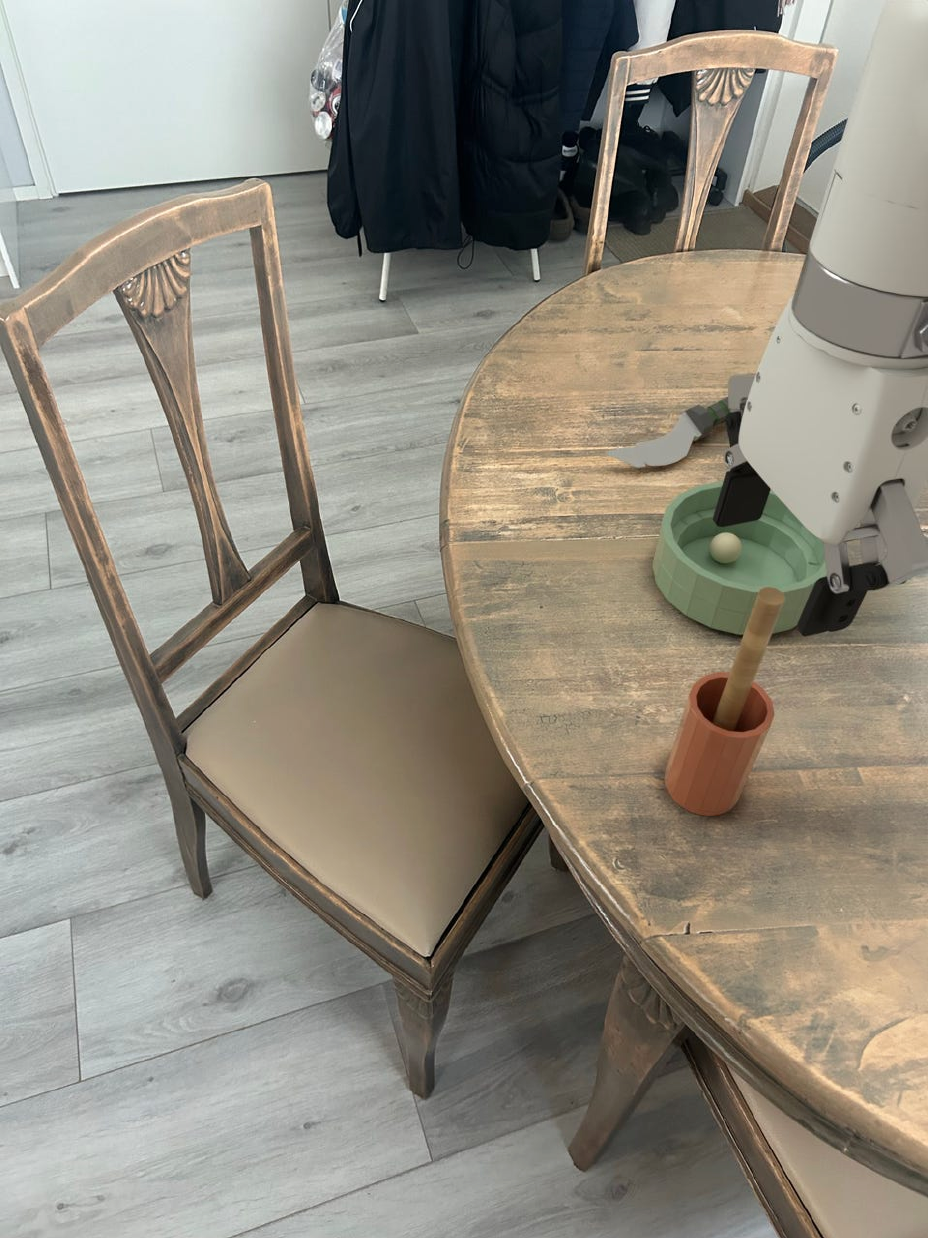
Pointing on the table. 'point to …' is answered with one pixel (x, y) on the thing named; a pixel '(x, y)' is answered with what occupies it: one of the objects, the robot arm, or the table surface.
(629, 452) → the knife
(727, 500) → the robot arm
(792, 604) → the bowl
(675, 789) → the utensil cup
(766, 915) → the table surface
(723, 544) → the bead
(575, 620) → the table surface
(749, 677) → the wooden masher
